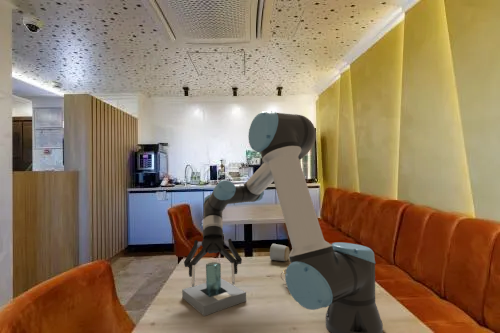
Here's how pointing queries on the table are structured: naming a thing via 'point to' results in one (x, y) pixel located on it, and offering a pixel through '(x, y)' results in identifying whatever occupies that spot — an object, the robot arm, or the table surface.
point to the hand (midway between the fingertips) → (213, 284)
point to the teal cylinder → (213, 279)
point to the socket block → (213, 297)
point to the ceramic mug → (279, 252)
